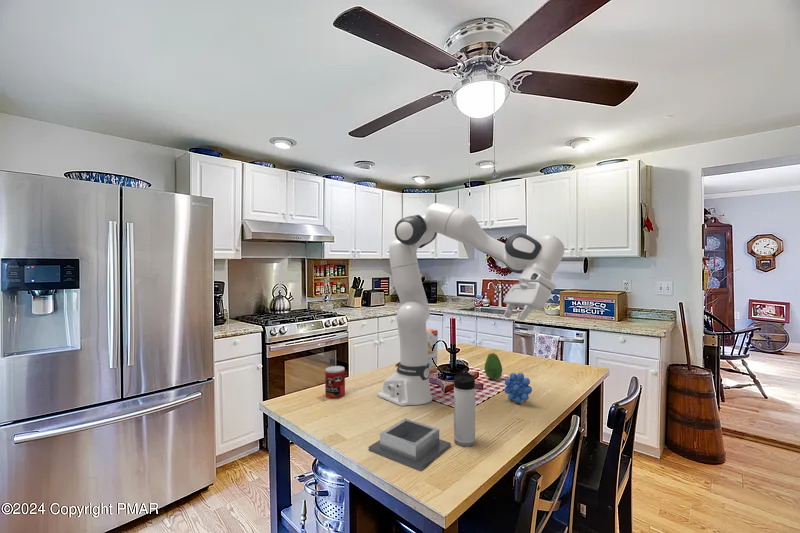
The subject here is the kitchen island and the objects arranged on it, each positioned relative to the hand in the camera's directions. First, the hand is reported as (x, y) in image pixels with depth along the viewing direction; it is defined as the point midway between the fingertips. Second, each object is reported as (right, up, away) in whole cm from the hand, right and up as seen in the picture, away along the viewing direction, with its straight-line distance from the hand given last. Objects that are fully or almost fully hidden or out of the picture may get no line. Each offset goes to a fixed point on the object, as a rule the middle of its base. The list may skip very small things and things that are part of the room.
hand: (513, 318), depth 118 cm
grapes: (+9, -36, +24) cm, 44 cm away
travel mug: (-17, -36, -7) cm, 41 cm away
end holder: (-33, -36, -11) cm, 50 cm away
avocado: (+7, -36, +52) cm, 63 cm away
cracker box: (-25, -36, +61) cm, 75 cm away
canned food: (-63, -36, +32) cm, 79 cm away
